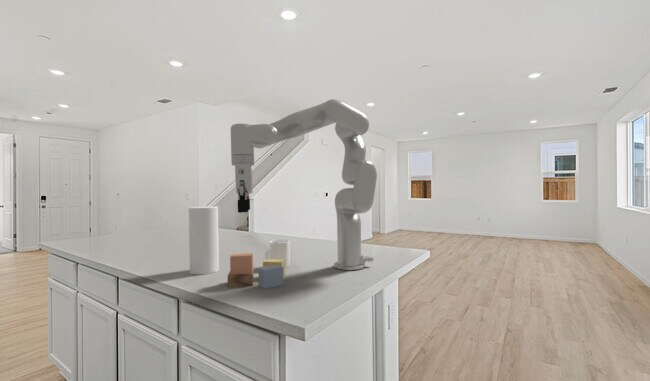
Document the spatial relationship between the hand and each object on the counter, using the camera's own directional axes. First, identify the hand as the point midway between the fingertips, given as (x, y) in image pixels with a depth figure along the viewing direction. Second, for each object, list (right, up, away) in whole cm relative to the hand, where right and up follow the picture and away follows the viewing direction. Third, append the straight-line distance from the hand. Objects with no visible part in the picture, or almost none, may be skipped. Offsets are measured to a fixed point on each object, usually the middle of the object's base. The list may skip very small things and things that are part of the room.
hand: (244, 211), depth 111 cm
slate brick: (+10, -25, -3) cm, 26 cm away
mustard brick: (+9, -24, +7) cm, 27 cm away
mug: (+8, -24, +21) cm, 33 cm away
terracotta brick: (-1, -21, -1) cm, 21 cm away
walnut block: (-1, -25, -1) cm, 25 cm away
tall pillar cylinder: (-20, -25, +17) cm, 36 cm away
